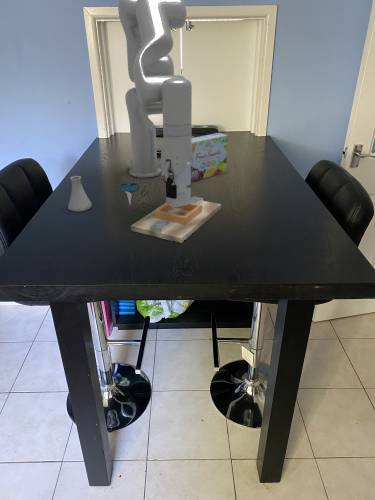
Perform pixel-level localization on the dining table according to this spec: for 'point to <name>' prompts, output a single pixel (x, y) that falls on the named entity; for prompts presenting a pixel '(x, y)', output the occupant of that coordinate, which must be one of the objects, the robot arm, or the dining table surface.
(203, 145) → the snack box
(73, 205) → the flask
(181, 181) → the skincare box
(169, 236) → the board
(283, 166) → the dining table surface
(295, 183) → the dining table surface
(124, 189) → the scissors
